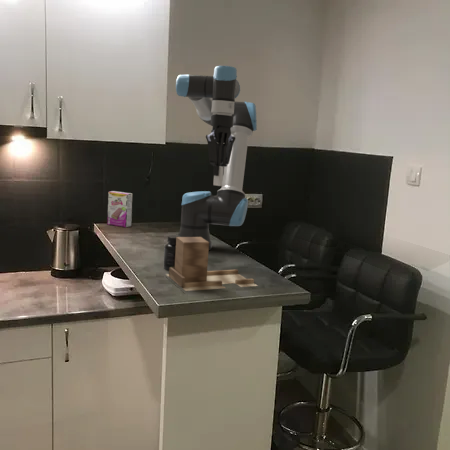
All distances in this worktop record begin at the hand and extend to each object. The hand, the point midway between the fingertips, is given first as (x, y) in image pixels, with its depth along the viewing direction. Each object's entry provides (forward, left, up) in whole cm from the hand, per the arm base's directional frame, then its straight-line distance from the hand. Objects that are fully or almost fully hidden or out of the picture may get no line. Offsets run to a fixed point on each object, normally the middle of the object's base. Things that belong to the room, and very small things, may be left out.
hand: (217, 185), depth 169 cm
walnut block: (+19, +7, -28) cm, 35 cm away
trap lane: (+13, +11, -29) cm, 34 cm away
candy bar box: (-24, -82, -30) cm, 90 cm away
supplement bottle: (+13, -6, -30) cm, 33 cm away
